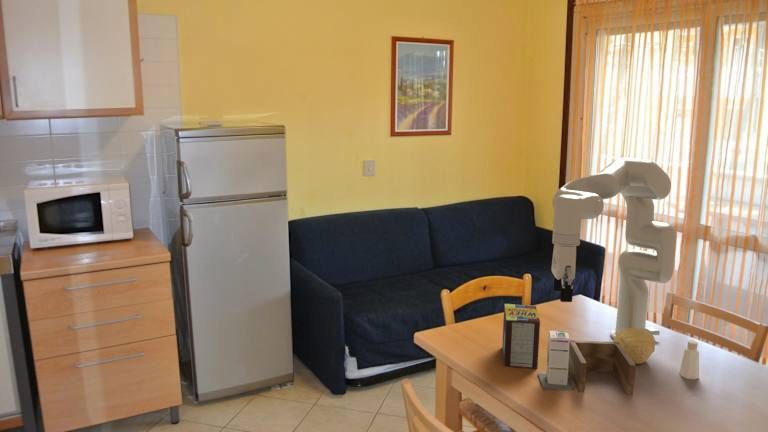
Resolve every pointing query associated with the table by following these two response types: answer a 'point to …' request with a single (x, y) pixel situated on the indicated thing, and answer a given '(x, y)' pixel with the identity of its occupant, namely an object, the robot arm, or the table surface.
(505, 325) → the protein box
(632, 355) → the sculpture
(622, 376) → the wooden u-shaped stand
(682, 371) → the salt shaker
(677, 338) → the table surface
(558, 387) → the mat
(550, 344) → the syrup box
